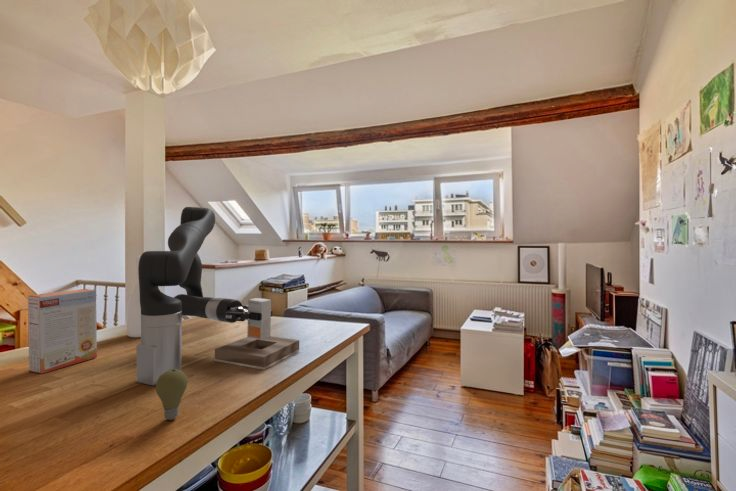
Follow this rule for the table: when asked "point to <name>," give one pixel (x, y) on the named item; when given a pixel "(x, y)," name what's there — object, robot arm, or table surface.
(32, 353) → the cracker box
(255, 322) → the skincare box
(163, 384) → the light bulb
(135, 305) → the wine bottle
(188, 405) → the table surface
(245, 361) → the walnut stand
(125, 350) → the table surface
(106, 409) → the table surface
